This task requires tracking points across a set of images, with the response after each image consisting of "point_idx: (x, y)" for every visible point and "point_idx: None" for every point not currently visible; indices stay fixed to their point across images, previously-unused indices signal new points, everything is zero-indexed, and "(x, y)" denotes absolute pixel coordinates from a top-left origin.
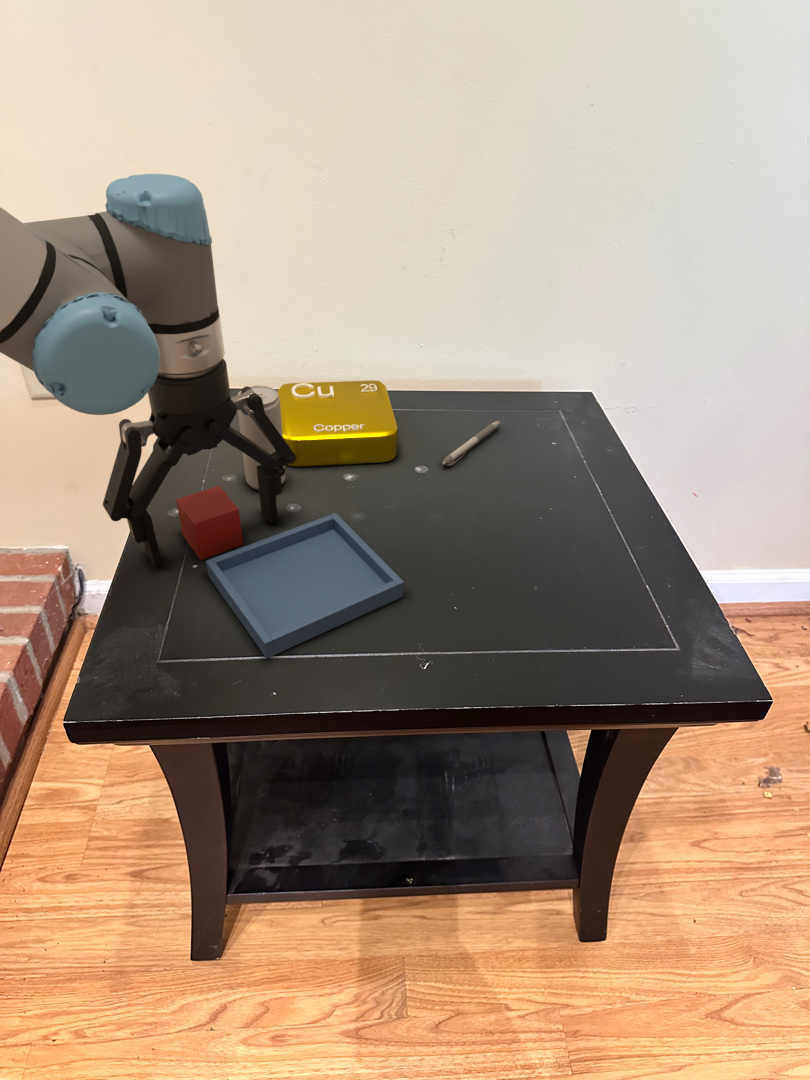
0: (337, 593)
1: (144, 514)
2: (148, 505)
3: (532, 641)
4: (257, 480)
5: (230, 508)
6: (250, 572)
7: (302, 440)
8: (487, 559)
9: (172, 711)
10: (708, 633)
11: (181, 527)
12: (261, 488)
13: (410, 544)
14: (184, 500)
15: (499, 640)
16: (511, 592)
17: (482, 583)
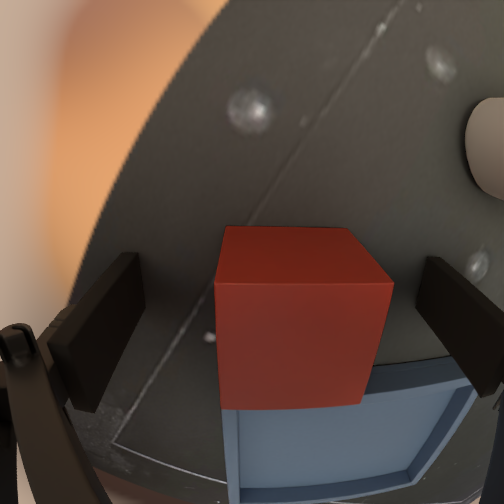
0: (360, 464)
1: (76, 395)
2: (80, 442)
3: (423, 500)
4: (488, 180)
5: (344, 397)
6: (291, 410)
7: None
8: None
9: (121, 477)
10: (481, 493)
11: (223, 237)
12: (467, 317)
13: (487, 407)
14: (241, 307)
15: (410, 499)
16: (465, 468)
17: (464, 460)
